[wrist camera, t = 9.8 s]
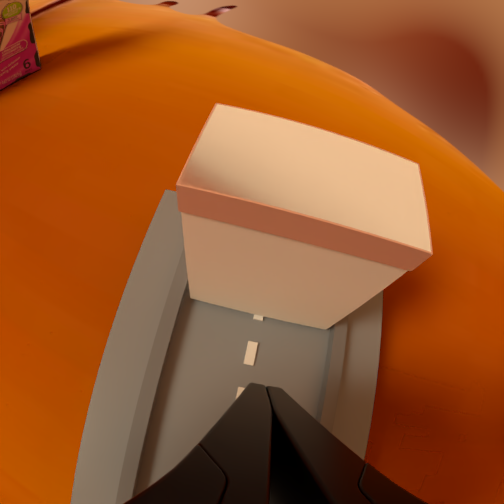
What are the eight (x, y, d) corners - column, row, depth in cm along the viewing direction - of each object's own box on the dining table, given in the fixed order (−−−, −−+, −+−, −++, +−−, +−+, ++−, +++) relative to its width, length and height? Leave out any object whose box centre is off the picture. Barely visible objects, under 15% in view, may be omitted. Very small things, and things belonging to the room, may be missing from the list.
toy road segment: (315, 562, 9) (333, 583, 7) (82, 518, 9) (62, 534, 7) (367, 261, 18) (388, 240, 16) (168, 211, 18) (164, 182, 15)
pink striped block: (326, 331, 13) (432, 254, 7) (188, 298, 13) (176, 184, 6) (333, 268, 15) (418, 164, 8) (207, 237, 14) (215, 102, 8)
